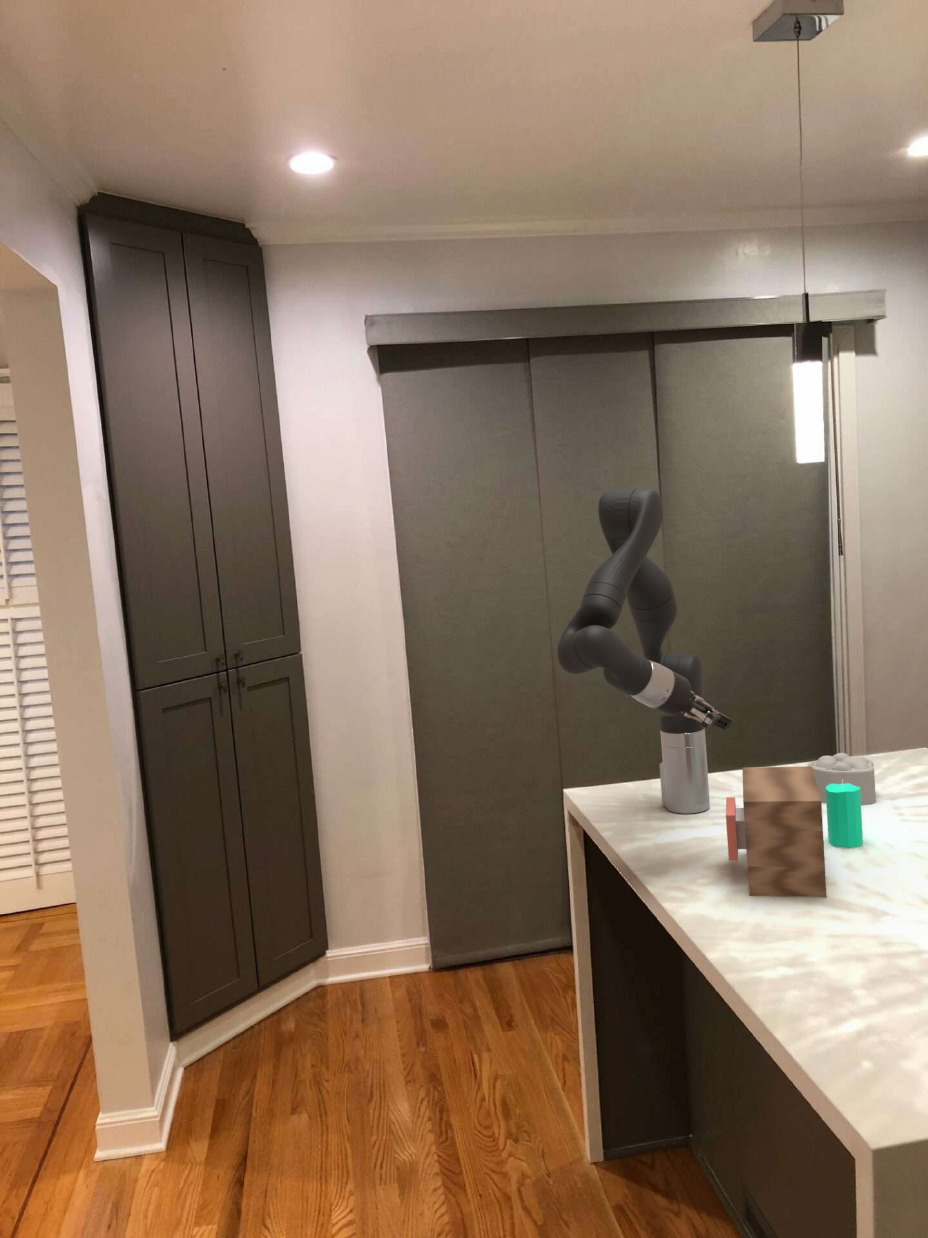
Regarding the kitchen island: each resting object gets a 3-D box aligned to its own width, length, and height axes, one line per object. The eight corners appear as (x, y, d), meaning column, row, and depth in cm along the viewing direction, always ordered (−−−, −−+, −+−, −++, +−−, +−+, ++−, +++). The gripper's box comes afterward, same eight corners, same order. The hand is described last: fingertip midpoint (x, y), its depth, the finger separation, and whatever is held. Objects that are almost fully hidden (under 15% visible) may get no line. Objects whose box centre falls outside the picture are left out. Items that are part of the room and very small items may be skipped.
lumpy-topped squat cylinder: (876, 806, 196) (874, 764, 195) (808, 804, 201) (806, 764, 200) (874, 790, 206) (872, 751, 205) (809, 789, 210) (807, 751, 209)
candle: (866, 847, 175) (863, 783, 173) (831, 848, 176) (827, 784, 174) (859, 836, 180) (856, 774, 179) (825, 837, 182) (822, 775, 180)
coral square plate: (728, 860, 164) (725, 815, 163) (729, 840, 174) (726, 797, 173) (787, 861, 161) (784, 815, 161) (784, 840, 171) (781, 796, 170)
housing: (749, 895, 159) (743, 801, 157) (747, 851, 178) (742, 767, 176) (826, 897, 156) (821, 801, 154) (816, 852, 175) (811, 766, 173)
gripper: (687, 686, 163) (758, 724, 170) (653, 654, 174) (721, 691, 181) (662, 722, 164) (733, 758, 171) (630, 688, 176) (698, 723, 183)
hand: (727, 723), depth 176 cm, fingers closed
